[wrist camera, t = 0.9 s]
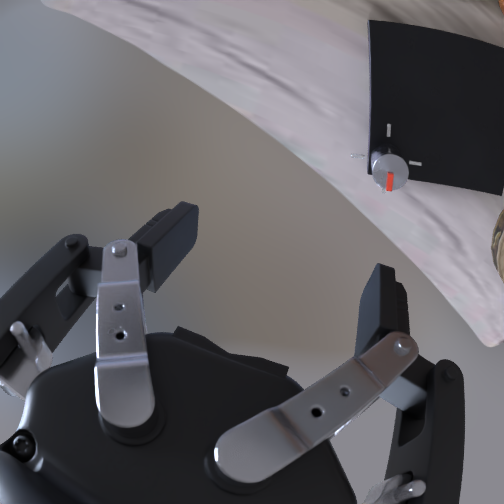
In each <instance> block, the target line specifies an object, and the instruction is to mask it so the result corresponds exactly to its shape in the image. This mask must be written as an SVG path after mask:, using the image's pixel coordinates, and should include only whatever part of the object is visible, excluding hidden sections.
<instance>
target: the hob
mask: <svg viewBox="0 0 504 504" xmlns="http://www.w3.org/2000/svg"><path fill="white" fill-rule="evenodd" d="M367 25H368V42H369V71H370V113H369V144H368V162H367V172H368V174H369V175H372V167H371V153H372V151H373V150H374V148H375V147H376V146H378V145H380V144H383V143H389V144H393V145H395V146H396V147H397V148H398V149H399V150H400V151H401V153H402V155H403V157H404V159H405V161H406V163H407V166H408V169H409V176H408V179H410V180H417V181H423V182H430V183H436V184H442V185H448V186H454V187H460V188H465V189H470V190H476V191H481V192H486V193H490V194H495V195H500V196H502V193H503V188H504V48H502V47H499V46H496V45H493V44H490V43H487V42H483V41H480V40H477V39H473V38H470V37H466V36H462V35H458V34H454V33H450V32H446V31H441V30H436V29H431V28H426V27H421V26H415V25H408V24H402V23H394V22H386V21H376V20H368V23H367ZM351 157H353V158H364V155H359V154H351ZM385 191H386V189H382V193H385Z"/></svg>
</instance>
